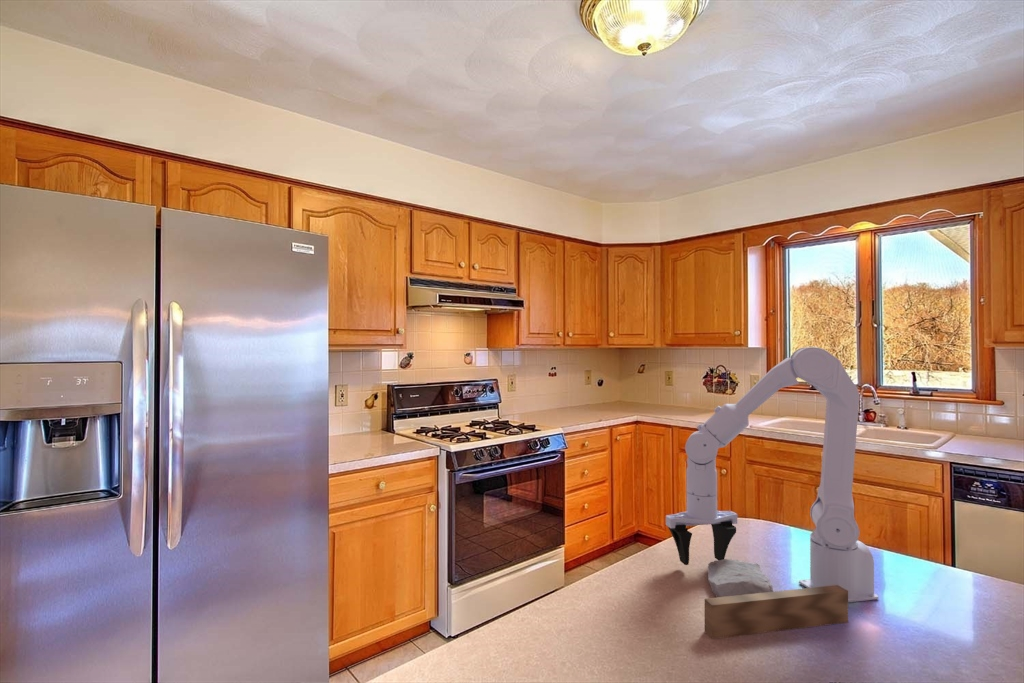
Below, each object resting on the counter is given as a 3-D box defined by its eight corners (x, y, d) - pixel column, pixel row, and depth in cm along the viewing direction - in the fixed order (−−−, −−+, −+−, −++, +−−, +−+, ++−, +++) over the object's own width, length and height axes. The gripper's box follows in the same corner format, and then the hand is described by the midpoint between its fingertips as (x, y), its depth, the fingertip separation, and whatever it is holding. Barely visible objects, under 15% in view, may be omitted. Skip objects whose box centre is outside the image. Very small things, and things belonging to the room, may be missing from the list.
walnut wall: (837, 615, 81) (837, 585, 81) (848, 622, 79) (848, 590, 79) (704, 631, 77) (704, 598, 77) (712, 638, 75) (712, 605, 75)
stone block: (718, 614, 85) (780, 608, 83) (712, 585, 86) (773, 579, 84) (705, 584, 97) (759, 579, 95) (700, 559, 97) (754, 553, 95)
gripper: (722, 485, 104) (722, 550, 104) (658, 488, 101) (658, 555, 101) (744, 495, 97) (744, 564, 97) (676, 499, 94) (676, 571, 94)
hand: (701, 561), depth 99 cm, fingers open, 7 cm apart
